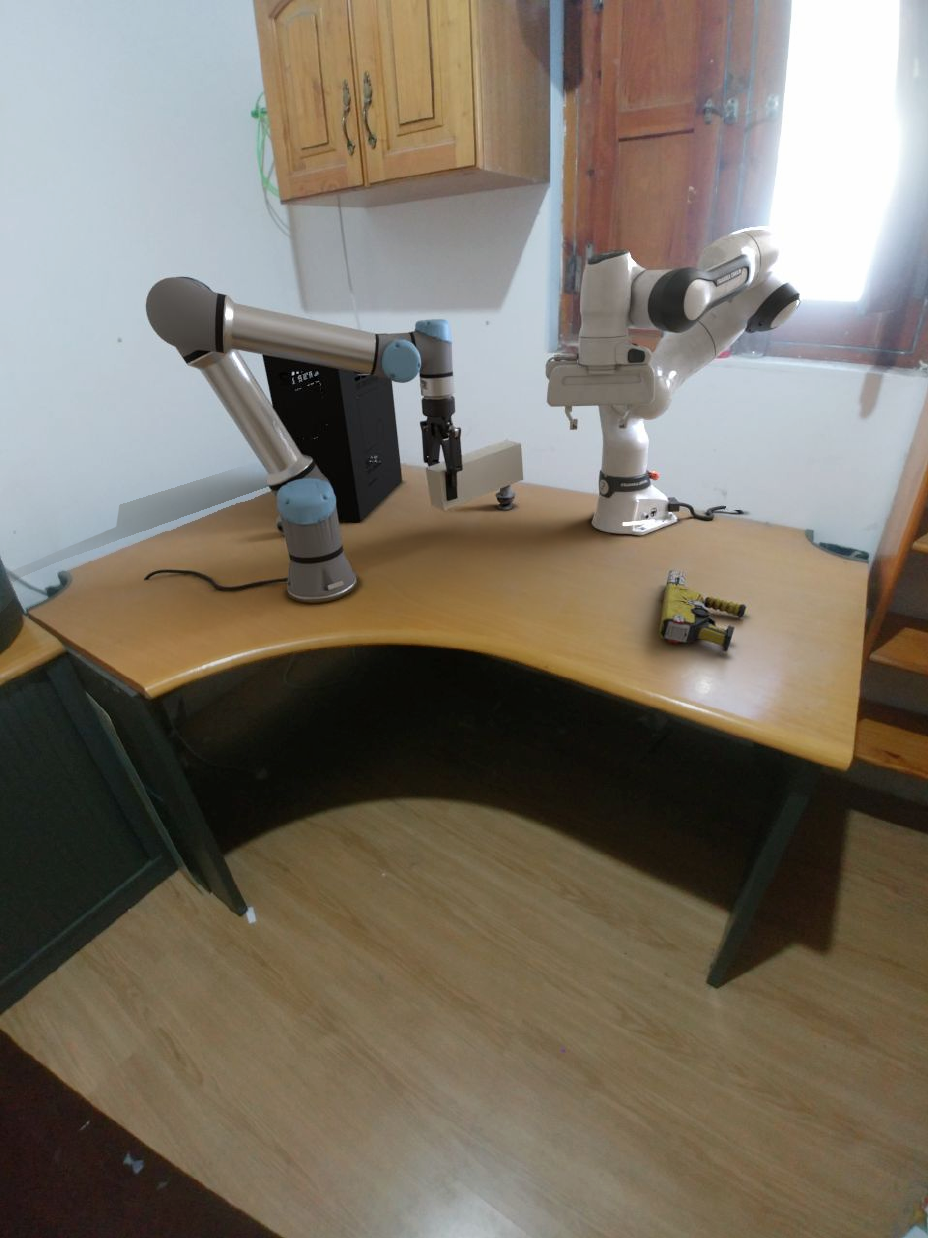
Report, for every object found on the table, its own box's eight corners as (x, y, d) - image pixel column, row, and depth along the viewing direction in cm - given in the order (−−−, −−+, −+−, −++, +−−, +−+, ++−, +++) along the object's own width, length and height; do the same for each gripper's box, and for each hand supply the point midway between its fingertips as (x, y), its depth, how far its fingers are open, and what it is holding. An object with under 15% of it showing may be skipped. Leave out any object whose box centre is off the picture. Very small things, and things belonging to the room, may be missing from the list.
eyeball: (273, 537, 164) (268, 516, 161) (287, 528, 169) (282, 508, 166) (291, 539, 161) (286, 518, 158) (305, 530, 166) (301, 510, 163)
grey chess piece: (514, 510, 172) (514, 468, 166) (494, 509, 173) (493, 468, 167) (517, 503, 177) (516, 462, 171) (497, 502, 178) (496, 462, 172)
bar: (509, 475, 160) (506, 439, 155) (523, 479, 156) (521, 443, 151) (431, 505, 149) (425, 467, 144) (443, 510, 145) (438, 472, 140)
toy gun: (745, 580, 121) (669, 567, 125) (754, 637, 101) (663, 618, 105) (739, 601, 124) (664, 587, 127) (746, 660, 103) (657, 641, 107)
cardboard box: (360, 522, 170) (335, 348, 148) (295, 519, 175) (261, 351, 152) (402, 481, 202) (386, 333, 179) (346, 480, 206) (324, 335, 184)
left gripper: (402, 394, 140) (411, 491, 151) (447, 403, 127) (454, 509, 138) (429, 389, 144) (436, 484, 155) (476, 398, 130) (480, 501, 142)
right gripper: (545, 356, 111) (544, 433, 118) (660, 352, 108) (652, 431, 115) (546, 352, 116) (545, 426, 123) (656, 348, 113) (648, 424, 120)
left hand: (444, 495), depth 147 cm, fingers closed on bar, 6 cm apart
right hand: (597, 428), depth 119 cm, fingers open, 8 cm apart
